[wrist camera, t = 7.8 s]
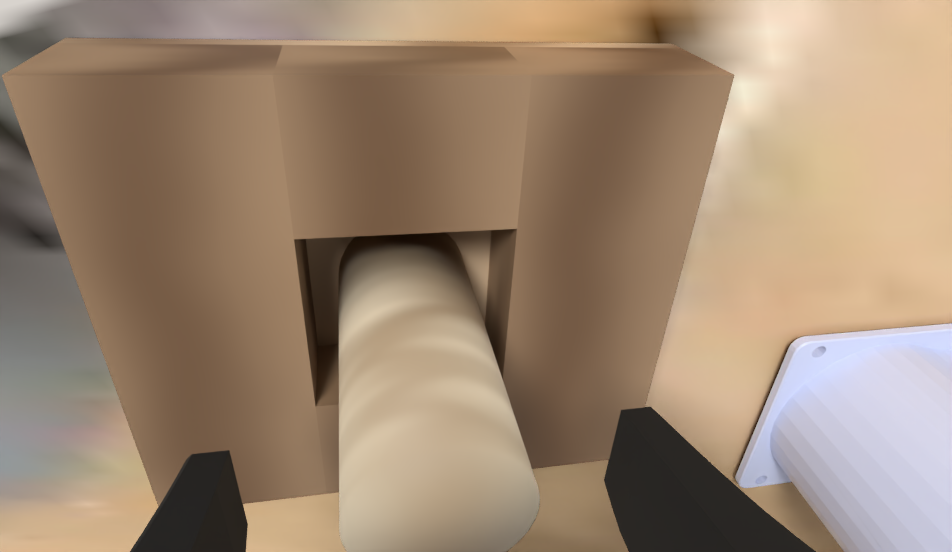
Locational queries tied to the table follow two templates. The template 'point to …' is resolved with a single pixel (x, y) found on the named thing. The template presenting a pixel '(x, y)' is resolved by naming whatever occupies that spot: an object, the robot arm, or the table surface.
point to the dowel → (423, 407)
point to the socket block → (365, 223)
